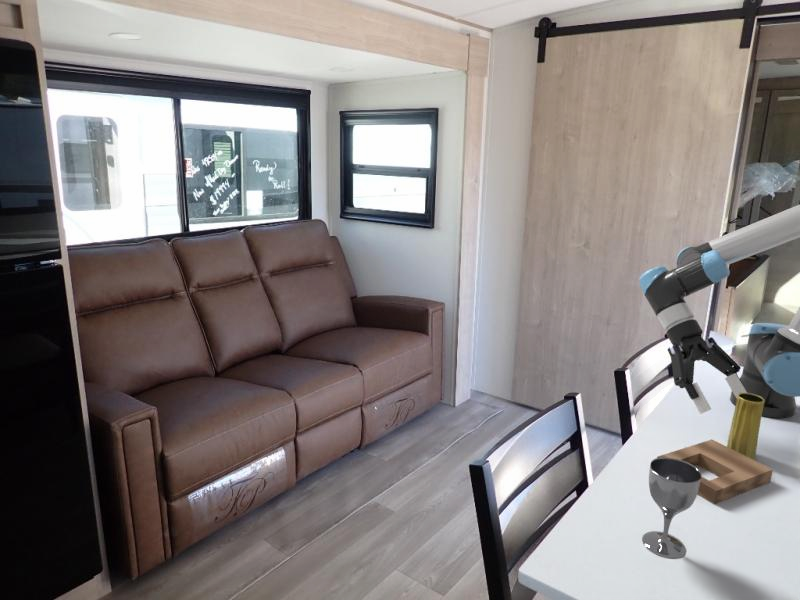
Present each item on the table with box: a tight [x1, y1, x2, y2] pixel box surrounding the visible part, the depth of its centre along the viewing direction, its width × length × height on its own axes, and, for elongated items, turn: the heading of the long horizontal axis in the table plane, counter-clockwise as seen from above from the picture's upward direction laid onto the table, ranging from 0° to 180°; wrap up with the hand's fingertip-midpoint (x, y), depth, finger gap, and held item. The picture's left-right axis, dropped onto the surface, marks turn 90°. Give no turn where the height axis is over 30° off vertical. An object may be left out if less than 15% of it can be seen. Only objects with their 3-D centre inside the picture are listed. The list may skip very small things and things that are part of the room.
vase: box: [726, 393, 765, 460], centre depth 130 cm, size 6×6×14 cm
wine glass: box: [641, 457, 702, 560], centre depth 99 cm, size 8×8×15 cm
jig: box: [656, 439, 774, 505], centre depth 123 cm, size 18×14×3 cm
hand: (725, 406), depth 132 cm, fingers open, 13 cm apart
